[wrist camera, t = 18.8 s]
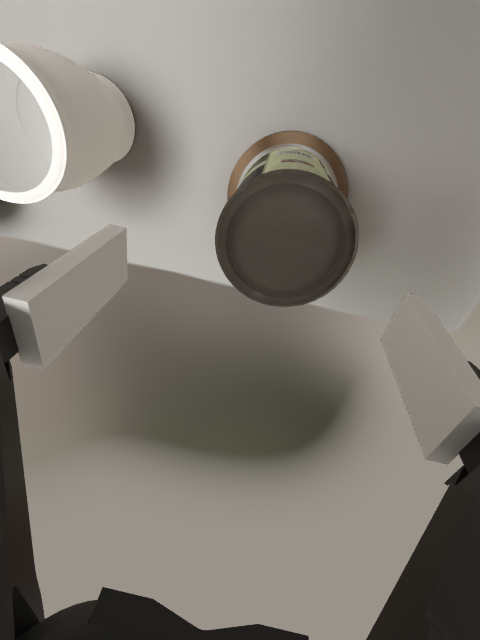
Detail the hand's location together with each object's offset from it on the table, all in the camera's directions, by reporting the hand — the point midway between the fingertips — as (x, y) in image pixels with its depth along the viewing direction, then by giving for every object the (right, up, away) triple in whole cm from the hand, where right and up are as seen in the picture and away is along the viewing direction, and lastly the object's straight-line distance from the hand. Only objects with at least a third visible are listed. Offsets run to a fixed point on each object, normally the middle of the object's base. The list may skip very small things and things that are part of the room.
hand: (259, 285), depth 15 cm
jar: (-16, +20, +20) cm, 32 cm away
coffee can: (+4, +12, +20) cm, 23 cm away
